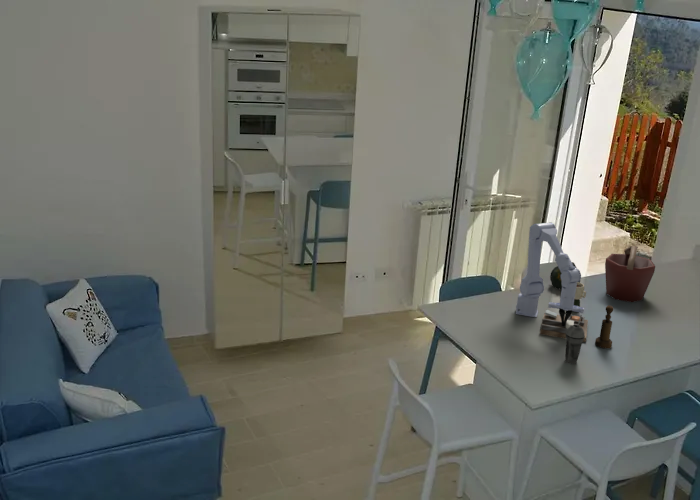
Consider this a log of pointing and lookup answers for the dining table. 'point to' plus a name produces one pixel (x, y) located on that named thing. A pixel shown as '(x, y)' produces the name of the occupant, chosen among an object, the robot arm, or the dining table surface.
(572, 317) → the push button
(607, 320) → the brown chess piece
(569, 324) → the slider knob
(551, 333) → the panel
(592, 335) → the dining table surface
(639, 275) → the bucket
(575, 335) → the beverage cup
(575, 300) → the character mug
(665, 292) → the dining table surface
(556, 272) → the squash
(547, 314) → the grey flat tile
